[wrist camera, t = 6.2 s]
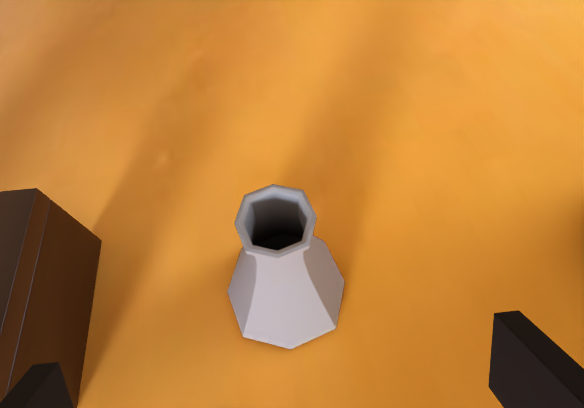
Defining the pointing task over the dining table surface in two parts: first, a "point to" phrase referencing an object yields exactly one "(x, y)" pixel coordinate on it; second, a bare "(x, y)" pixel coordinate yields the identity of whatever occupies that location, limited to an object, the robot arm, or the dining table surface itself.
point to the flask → (283, 270)
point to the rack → (43, 288)
